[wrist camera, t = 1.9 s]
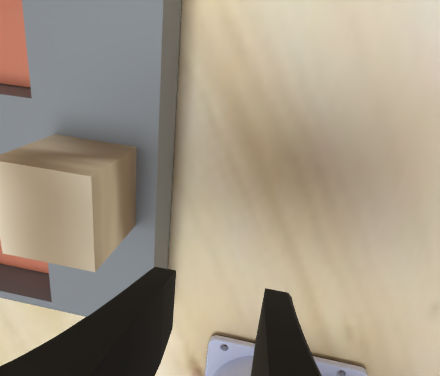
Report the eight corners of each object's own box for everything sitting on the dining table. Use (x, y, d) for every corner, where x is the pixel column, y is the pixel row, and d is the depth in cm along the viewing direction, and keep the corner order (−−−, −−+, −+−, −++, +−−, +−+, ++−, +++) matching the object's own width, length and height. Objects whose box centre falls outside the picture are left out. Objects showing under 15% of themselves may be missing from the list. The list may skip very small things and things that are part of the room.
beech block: (136, 146, 16) (91, 176, 12) (135, 225, 18) (95, 272, 14) (54, 134, 17) (-12, 159, 13) (60, 211, 18) (2, 253, 15)
